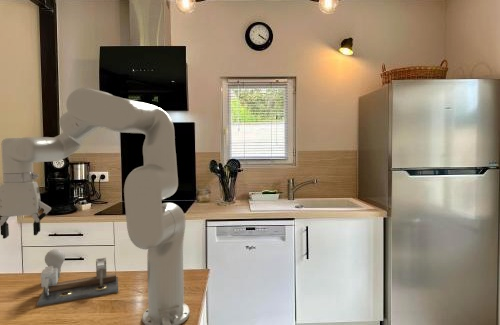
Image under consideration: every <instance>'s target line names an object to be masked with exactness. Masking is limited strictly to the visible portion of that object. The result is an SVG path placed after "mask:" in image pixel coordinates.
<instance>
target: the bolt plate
mask: <svg viewBox="0 0 500 325" xmlns="http://www.w3.org/2000/svg"><path fill="white" fill-rule="evenodd" d="M115 293H119V277H118V276H116V281H110V282H104V283H103V286H102V287H100V283H98V284H92V285H86V286H80V287H74V288H67V289H61V290H55V291H49V295H48V296H46V293H45V292H44V289H43V290H42V292H41V294H40V296H39V299H38V300H37V307H43V306H44V307H45V306H48V305H49V306H50V305H55V304H59V303H60V304H61V303H66V302H71V301H76V300H83V299H89V298H93V297H99V296H104V295H109V294H110V295H111V294H115Z"/></svg>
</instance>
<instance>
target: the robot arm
mask: <svg viewBox="0 0 500 325" xmlns="http://www.w3.org/2000/svg"><path fill="white" fill-rule="evenodd" d="M65 107H66V110H67V111H66V112H64V113H62V115H61V116H60V117H59V127H60V128H61V131H62V132H61V133H60V134H59V135H56V136H54V137H49V136H44V137H43V136H28V137H27V136H25V137H7V138H3V139H2V140H1V142H0V143H1V144H0V146H1V162H2V164H1V165H2V167H1V169H2V183H0V236H2V239H7V238H8V237H9V235H10V229H9V223H8V222H7V221H8V219H9V218H10V217H22V216H31V218H32V220H33V221H34V222H33V223H32V226H33V236H37V235H38V234H39V232H41V221H42V220H43V219H44V218H45V217H46V215H48V214H49V212H51V210H52V207H51V206H49V205H48V204H46V203H44V202H43V201H41V194H40V188H39V184H38V181H35V180H36V179H39V178H40V174H39V173H35V172H34V163H45V162H46V163H47V162H58V161H62V160H64V159H66V158H67V157H70V156H71V155H72V154H75V153H76V152H78V151H79V150H80V149H81V147H82V146H83V144H84V142H85V139H86V138H87V137H90V136H91V135H92V134H94V133H95V132H97V131H99V130H100V129H105V130H109V131H113V132H117V133H122V134H123V133H127V134H129V133H130V134H143V135H145V139H144V141H143V145H142V156H143V165H141V166H138V167H135V168H134V169H132V171H131V172H129V174H128V175H127V177H126V179H125V182H124V188H123V193H124V194H123V196H124V208H125V220H126V231H127V234H128V238H129V240H130V241H131V243H132V244H133V245H134V246H135V247H136V248H138V249H141V250H144V251H145V250H147V253H146V254H147V256H146V257H147V260H146V261H147V262H146V263H147V264H146V265H147V267H146V268H147V309H145V310H144V312H143V313H142V324H144V325H181V324H183V323H185V321H186V320H188V318H189V317H190V314H191V313H190V311H191V310H190V307H189V305H187V304H186V303H184V302H185V298H184V297H185V296H184V295H185V293H184V291H185V290H184V288H185V287H184V240H185V238H184V237H185V233H186V216H185V213H184V211H183V209H182V208H181V207H180V206H179V205H178V204H176V203H174V202H163V203H162V201H163V200H165V199H167V198H170V197H171V196H173V195H174V194H175V193H176V192H177V190H178V187H179V177H178V165H177V164H178V163H177V162H178V161H177V153H176V140H175V139H176V136H175V134H176V133H175V126H174V123H173V120H172V118H171V116H170V115H169V114H168V112H166V111H165V110H164V109H162V108H161V107H158V106H157V105H154V104H150V103H147V102H143V101H138V100H133V99H129V98H123V97H120V96H116V95H113V94H112V93H109V92H106V91H104V90H103V91H102V90H98V89H93V88H91V87H79V88H76V89H74V90H73V91H72V92H70V94H69V95H68V97H67V98H66V102H65ZM41 209H43V212H42V213H41V214H40V213H39V212H40V211H41Z"/></svg>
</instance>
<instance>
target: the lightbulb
mask: <svg viewBox="0 0 500 325" xmlns="http://www.w3.org/2000/svg"><path fill="white" fill-rule="evenodd" d="M65 259H66V254H65V252H64V251H63V250H62V249H59V248H53V249H50V250H49V251H48V252H46V254H45V256H44V263H45V265H47V266H46V267H49V266H53V268H58V280H59V279H60V278H61V272H62V270H61V269H62V266H63V264H64V262H65Z"/></svg>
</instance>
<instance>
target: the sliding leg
mask: <svg viewBox="0 0 500 325" xmlns="http://www.w3.org/2000/svg"><path fill="white" fill-rule="evenodd" d="M57 282H59V279H58V268H53V266H49V267H48V266H45V268H44V269H42V270H41V272H40V284H41V288H44V287H45V293H46V296H48V295H49V289H48V286H55V285H57Z"/></svg>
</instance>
